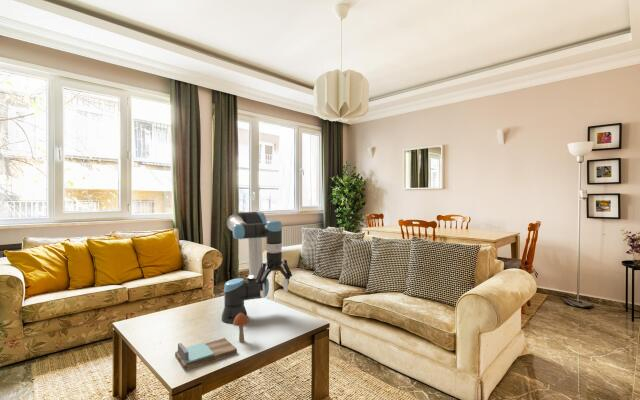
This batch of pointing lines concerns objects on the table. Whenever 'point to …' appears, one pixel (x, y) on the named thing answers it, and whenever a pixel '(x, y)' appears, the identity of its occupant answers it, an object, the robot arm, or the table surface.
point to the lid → (194, 352)
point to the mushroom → (240, 324)
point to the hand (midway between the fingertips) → (274, 293)
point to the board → (218, 347)
